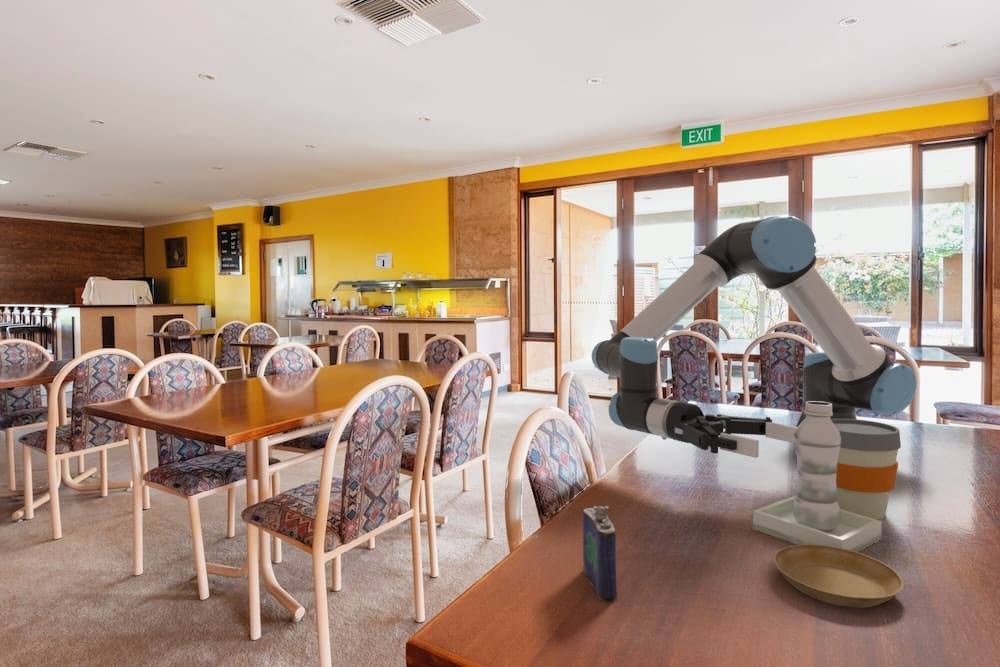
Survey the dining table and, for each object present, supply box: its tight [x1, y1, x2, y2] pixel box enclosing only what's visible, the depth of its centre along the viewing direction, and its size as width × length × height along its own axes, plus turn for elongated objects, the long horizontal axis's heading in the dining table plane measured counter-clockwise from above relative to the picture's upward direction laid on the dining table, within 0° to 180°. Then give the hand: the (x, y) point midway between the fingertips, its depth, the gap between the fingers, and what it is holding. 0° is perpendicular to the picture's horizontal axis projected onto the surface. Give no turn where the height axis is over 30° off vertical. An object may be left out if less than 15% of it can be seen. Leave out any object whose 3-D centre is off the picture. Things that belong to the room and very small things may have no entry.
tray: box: [752, 495, 883, 553], centre depth 94 cm, size 12×14×3 cm
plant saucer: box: [773, 544, 904, 609], centre depth 78 cm, size 15×15×3 cm
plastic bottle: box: [793, 401, 841, 531], centre depth 93 cm, size 6×7×20 cm
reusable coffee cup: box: [831, 419, 902, 520], centre depth 103 cm, size 13×13×15 cm
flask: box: [582, 505, 618, 603], centre depth 78 cm, size 9×3×11 cm, turn 8°
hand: (781, 442), depth 98 cm, fingers open, 13 cm apart
